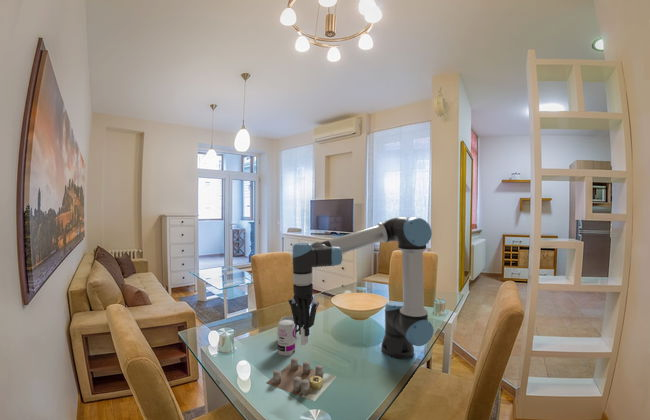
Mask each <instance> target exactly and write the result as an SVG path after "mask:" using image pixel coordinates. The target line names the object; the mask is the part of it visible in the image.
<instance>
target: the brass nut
mask: <svg viewBox="0 0 650 420" xmlns="http://www.w3.org/2000/svg"><path fill="white" fill-rule="evenodd" d="M309 386H310V388H311V389H312V390H319V389H320V388H321V387H322V386H323V379H322V378H321V377H320V376H312V377H311V378H310V379H309Z"/></svg>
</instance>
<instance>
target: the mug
mask: <svg viewBox="0 0 650 420" xmlns="http://www.w3.org/2000/svg"><path fill="white" fill-rule="evenodd" d="M284 319H290V320H293V321H294V319H293V315H290V316H289V315H287V316H283V317H281V318H280V320H279V321H281V320H284ZM297 333H299V327H298V325H295V338H296V337H297Z"/></svg>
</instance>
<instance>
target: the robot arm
mask: <svg viewBox="0 0 650 420" xmlns="http://www.w3.org/2000/svg"><path fill="white" fill-rule="evenodd" d="M432 234H433V233H432V227H431V225H430V224H429V223H428V222H427V221H426V219H424V218H420V217H417V216H397V217H396V216H395V217H393V218H391V219H387V220H384V221H381V222H378V223H377V224H376V226H373V227H368V228H366V229H362V230H358V231H355V232H352V233H348V234H345V235H341V236H338V237H334V238H331V239H328V240H324V241H321V242H318V241H317V242H316V241H315V242H313V243H310V242H298V243H295V244H294V245H292V282H293V289H292V290H293V296H292V298H290V299H288V303H289V306H290V309H291V310H290V311H291V313H292V316H293V319H294V324H295V325H297V327H298V328H299V331H298V334H299V336H300V345H301V346H306V345H307V344H308V343H309V336H310V328H312V327H313V326H314V324H315V319H316V314H317V309H318V308H319V305H320V303H319V302H318V301H315V299H314V296H313V292H314V288H313V287H314V284H313V268H321V267H334V266H340V265H341V264H342V262H343V254H345V253H346V254H347V253H348V252H352V251H355V250H359V249H362V248H365V247H367V246H368V247H369V246H371V245H374V244H377V243H381V242H382V243H383V244H385V243H389V242H397V244H398V246H397V247H398V248H397V249H399V251H400V252H401V261H402V262H401V263H402V265H401V267H402V270H401V271H402V301H390V302H387V303H386V304H385V307H384V330H385V331H384V336H383V339H382V341H381V352H382V353H383V354H384V355H385V356H387V357H390V358H393V359H398V360H399V359H400V360H402V359H403V360H404V359H409V358H412V357H413V356H414V354H415V346H416V347H422V346H425V345H427V344H428V343H429V341H431V340H432V339H433V336H434V326H433V324H432V323H431V321H429V317H428V314H429V313H428V310H427V309H426V308H425V306H424V305H425V298H424V297H425V295H424V293H425V292H424V257H423V256H424V252H425V251H426V250H427V244H429V243H430V242H429V241H431V239H432Z"/></svg>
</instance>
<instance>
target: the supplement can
mask: <svg viewBox="0 0 650 420" xmlns="http://www.w3.org/2000/svg"><path fill="white" fill-rule="evenodd" d="M295 352H296V337H295V324H294V321H293V320H290V319H284V320H281V321H280V320H279V322H278V323H277V354H278V355H279V356H282V357H283V356H284V357H285V356H286V357H287V356H288V357H289V356H293V355H294V354H295Z"/></svg>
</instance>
